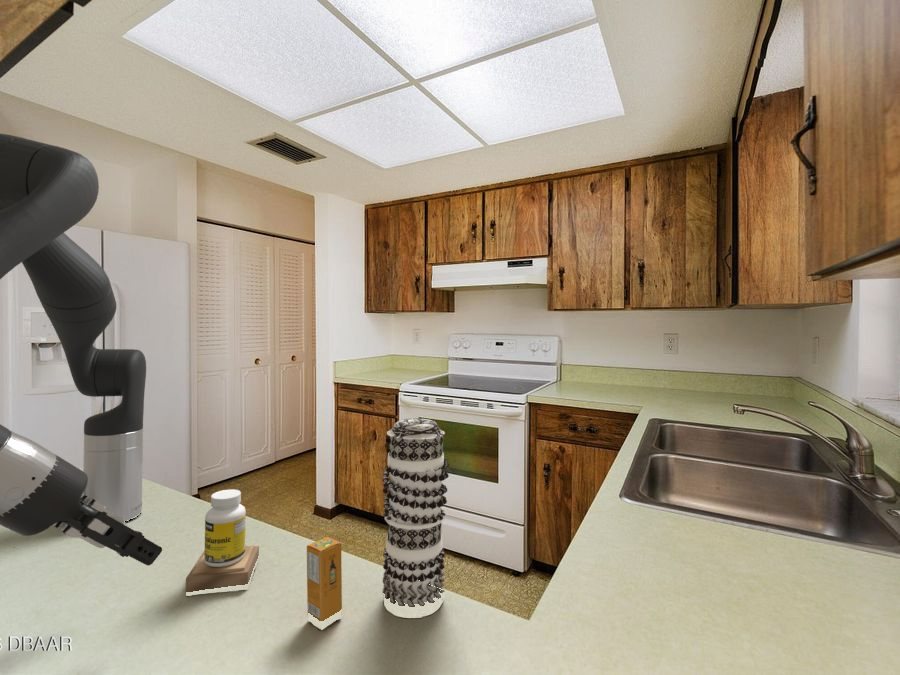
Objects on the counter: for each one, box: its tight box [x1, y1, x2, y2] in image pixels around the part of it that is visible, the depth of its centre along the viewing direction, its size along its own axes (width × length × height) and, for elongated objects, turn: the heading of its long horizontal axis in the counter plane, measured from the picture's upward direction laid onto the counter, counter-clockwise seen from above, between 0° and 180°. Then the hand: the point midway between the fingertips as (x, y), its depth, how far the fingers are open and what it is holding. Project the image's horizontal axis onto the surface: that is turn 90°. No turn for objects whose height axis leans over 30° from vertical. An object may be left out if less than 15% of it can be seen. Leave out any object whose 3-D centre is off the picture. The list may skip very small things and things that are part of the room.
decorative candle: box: [382, 417, 450, 607], centre depth 61 cm, size 9×9×25 cm
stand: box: [185, 545, 260, 593], centre depth 66 cm, size 8×8×3 cm
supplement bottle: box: [204, 489, 247, 567], centre depth 65 cm, size 5×5×10 cm
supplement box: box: [306, 536, 343, 621], centre depth 56 cm, size 3×3×10 cm
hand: (139, 547), depth 56 cm, fingers open, 8 cm apart
